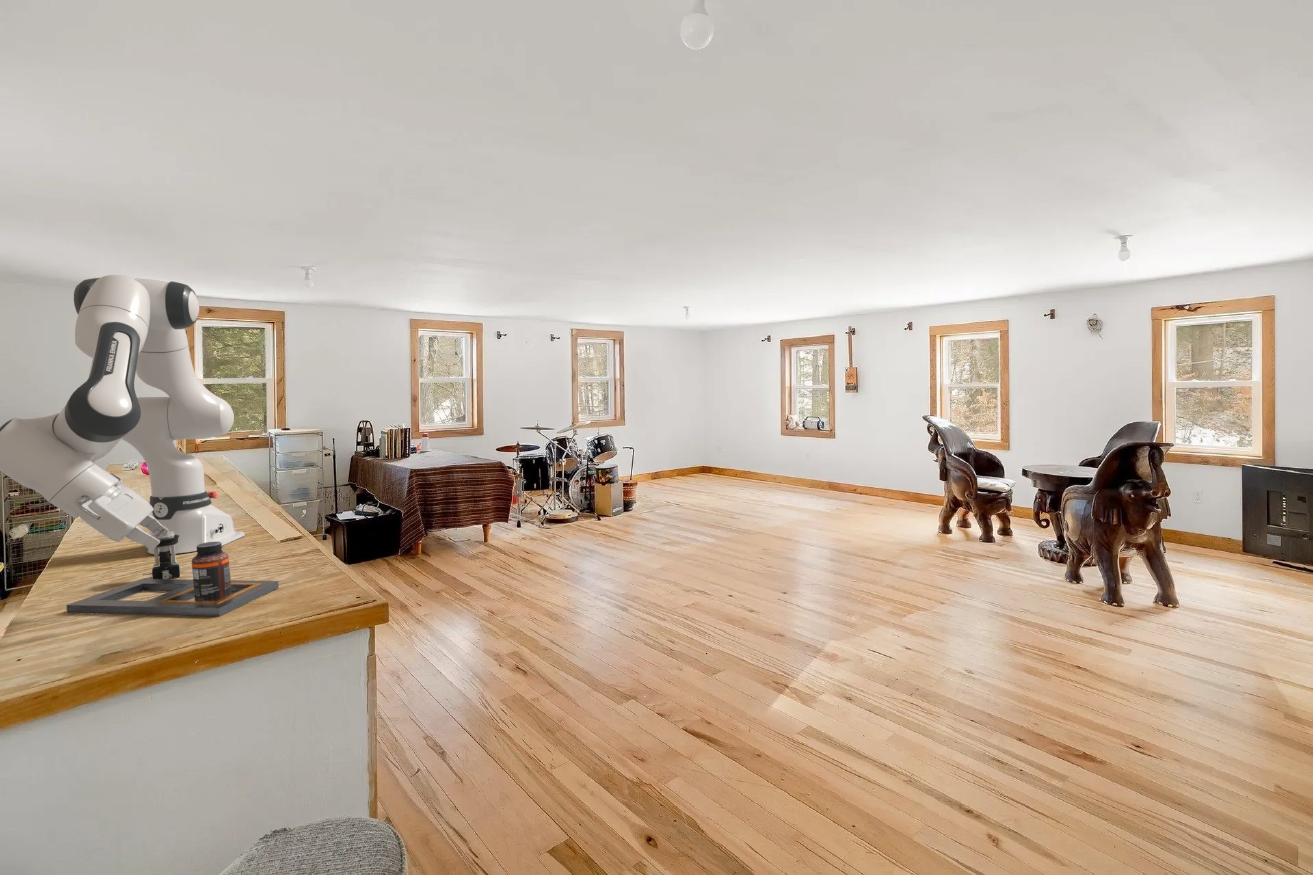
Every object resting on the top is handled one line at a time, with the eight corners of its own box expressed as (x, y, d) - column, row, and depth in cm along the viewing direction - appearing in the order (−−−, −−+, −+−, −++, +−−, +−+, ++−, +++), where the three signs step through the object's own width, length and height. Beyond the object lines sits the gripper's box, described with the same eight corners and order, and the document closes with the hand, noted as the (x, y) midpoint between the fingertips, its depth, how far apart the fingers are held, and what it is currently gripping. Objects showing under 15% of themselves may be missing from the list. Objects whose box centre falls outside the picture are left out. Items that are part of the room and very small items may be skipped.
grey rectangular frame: (142, 585, 134) (142, 577, 134) (278, 588, 132) (278, 579, 132) (67, 612, 119) (66, 603, 118) (220, 616, 116) (219, 607, 116)
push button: (142, 584, 135) (138, 537, 135) (144, 578, 140) (140, 533, 139) (181, 578, 139) (178, 533, 138) (182, 572, 144) (179, 528, 143)
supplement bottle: (230, 593, 129) (226, 538, 128) (233, 601, 124) (230, 543, 123) (193, 600, 125) (189, 543, 124) (195, 608, 120) (191, 549, 120)
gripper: (88, 488, 106) (166, 538, 112) (117, 473, 124) (183, 517, 130) (55, 517, 105) (135, 567, 110) (88, 498, 122) (157, 541, 128)
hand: (161, 539), depth 120 cm, fingers open, 8 cm apart
